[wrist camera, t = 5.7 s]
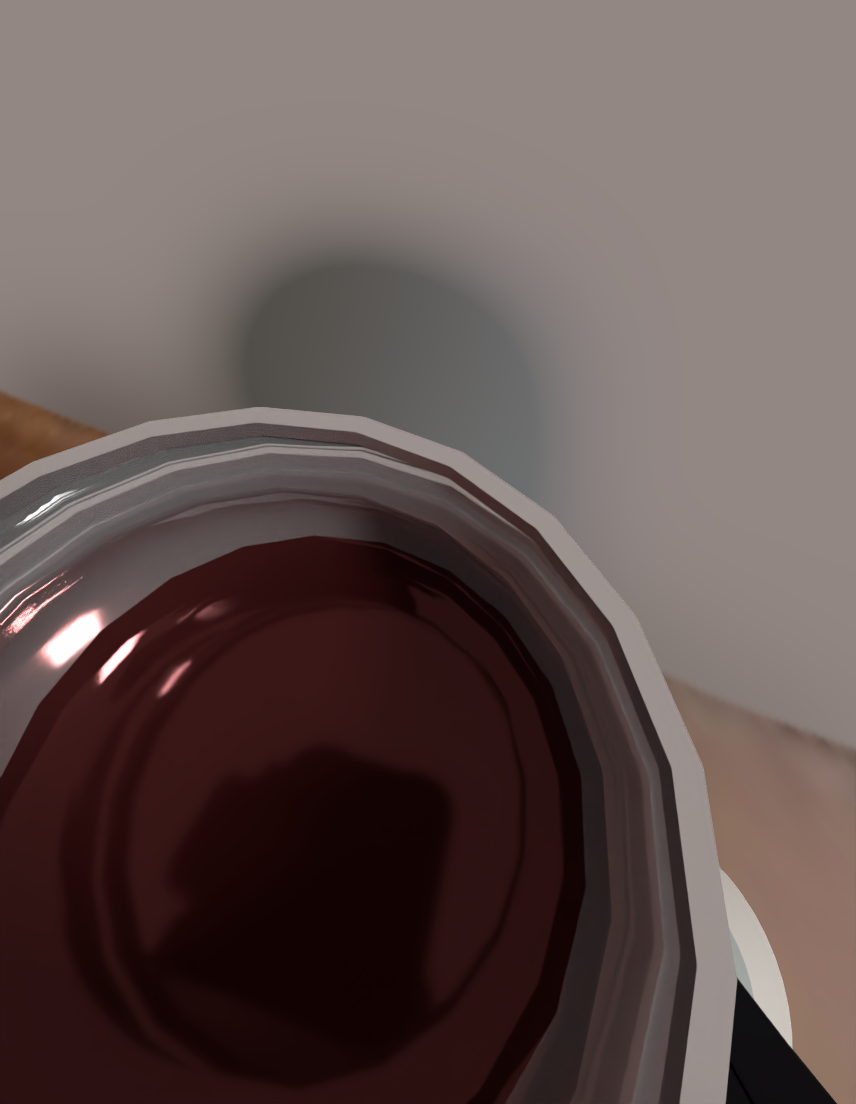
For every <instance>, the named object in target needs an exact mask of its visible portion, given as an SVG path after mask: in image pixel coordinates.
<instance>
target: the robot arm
mask: <svg viewBox="0 0 856 1104" xmlns="http://www.w3.org/2000/svg"><path fill="white" fill-rule="evenodd" d="M726 1104H837V1103H836V1102H835V1101H834V1100H833V1098H832V1097H831V1096H830V1095H829V1093H828V1092H827V1091H826V1090H825V1088H824V1087H823V1086H822V1085H821V1084H820V1082H819V1081H818V1080H817V1079H816V1077H815V1076H814V1075H813V1074H812V1072H811V1071H810V1070H809V1069H808V1068H807V1066H806V1065H805V1064H804V1063H803V1061H802V1060H801V1059H800V1058H799V1056H798V1055H797V1054H796V1053H795V1052H794V1050H793V1049H792V1048H791V1047H790V1045H789V1044H788V1043H787V1042H786V1040H785V1039H784V1038H783V1036H782V1035H781V1034H780V1032H779V1031H778V1030H777V1029H776V1027H775V1026H774V1025H773V1023H772V1022H771V1021H770V1020H769V1018H768V1017H767V1016H766V1014H765V1013H764V1012H763V1010H762V1009H761V1008H760V1007H759V1005H758V1004H757V1003H756V1001H755V1000H754V999H753V997H752V996H751V995H750V994H749V992H748V991H747V990H746V988H745V987H744V986H743V984H742V983H741V982H740V980H739V979H738V978H737V988H736V999H735V1009H734V1020H733V1031H732V1041H731V1052H730V1062H729V1073H728V1084H727V1094H726Z"/></svg>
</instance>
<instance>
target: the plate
mask: <svg viewBox="0 0 856 1104" xmlns="http://www.w3.org/2000/svg"><path fill="white" fill-rule="evenodd" d="M719 869H720V875H721V881H722V887H723V894H724V900H725V906H726V912H727V919H728V925H729V931H730V937H731V944H732V950H733V956H734V962H735V969H736V975H737V978H738V979H739V980H740V982H741V983H742V984H743V986H744V987H745V988H746V990H747V991H748V992H749V994H750V995H751V996H752V997H753V999H754V1000H755V1001H756V1003H757V1004H758V1005H759V1007H760V1008H761V1009H762V1010H763V1012H764V1013H765V1014H766V1016H767V1017H768V1018H769V1020H770V1021H771V1022H772V1023H773V1025H774V1026H775V1027H776V1029H777V1030H778V1031H779V1032H780V1034H781V1035H782V1036H783V1038H784V1039H785V1040H786V1042H787V1043H788V1044H789V1045H790V1047H791V1048H792V1030H791V1022H790V1014H789V1006H788V1002H787V997H786V993H785V988H784V984H783V980H782V977H781V974H780V971H779V968H778V965H777V961H776V958H775V956H774V953H773V951H772V949H771V946H770V944H769V942H768V939H767V937H766V934H765V932H764V931H763V929H762V927H761V925H760V923H759V921H758V919H757V917H756V916H755V914H754V912H753V910H752V909H751V907H750V906H749V904H748V903H747V901H746V900H745V898H744V897H743V895H742V894H741V892H740V891H739V890H738V888H737V887H736V886H735V885H734V883H733V882H732V881H731V879H730V878H729V877H728V876H727V875H726V874H725V872H724V871H723V870H722V869H721V868H720V867H719Z"/></svg>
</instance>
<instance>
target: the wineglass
mask: <svg viewBox="0 0 856 1104" xmlns="http://www.w3.org/2000/svg"><path fill="white" fill-rule="evenodd" d="M736 988H737V975H736V969H735V962H734V956H733V950H732V944H731V937H730V931H729V925H728V919H727V912H726V906H725V900H724V894H723V887H722V881H721V875H720V869H719V862H718V856H717V850H716V844H715V837H714V831H713V825H712V819H711V812H710V806H709V800H708V794H707V787H706V781H705V775H704V769H703V765H702V763H701V760H700V758H699V756H698V754H697V751H696V749H695V747H694V745H693V742H692V740H691V738H690V736H689V733H688V731H687V729H686V727H685V724H684V722H683V720H682V718H681V715H680V713H679V711H678V709H677V706H676V704H675V702H674V700H673V697H672V695H671V693H670V691H669V688H668V686H667V684H666V682H665V679H664V677H663V675H662V673H661V670H660V668H659V666H658V664H657V661H656V659H655V657H654V655H653V652H652V650H651V648H650V646H649V643H648V641H647V639H646V637H645V634H644V632H643V630H642V628H641V625H640V623H639V621H638V619H637V617H636V616H635V614H634V613H633V612H632V611H631V610H630V608H629V607H628V606H627V605H626V603H625V602H624V601H623V600H622V598H620V596H619V595H618V594H617V592H616V591H615V590H614V589H613V587H612V586H611V585H610V584H609V583H608V581H607V580H606V579H605V578H604V576H603V575H602V574H601V573H600V572H599V570H598V569H597V568H596V567H595V566H594V564H593V563H592V562H591V561H590V559H589V558H588V557H587V556H586V555H585V553H584V552H583V551H582V550H581V548H580V547H579V546H578V545H577V544H576V542H575V541H574V540H573V539H572V538H571V536H570V535H569V534H568V533H567V532H566V530H565V529H564V528H563V527H562V525H561V524H560V523H559V522H558V520H557V519H556V518H555V517H554V516H553V515H551V514H550V513H548V512H547V511H546V510H544V509H543V508H542V507H540V506H539V505H537V504H536V503H534V502H533V501H531V500H530V499H529V498H527V497H526V496H524V495H523V494H522V493H520V492H519V491H517V490H516V489H514V488H513V487H511V486H510V485H509V484H507V483H506V482H504V481H503V480H501V479H500V478H499V477H497V476H496V475H494V474H493V473H491V472H490V471H488V470H487V469H486V468H484V467H483V466H481V465H480V464H479V463H477V462H476V461H474V460H473V459H471V458H470V457H469V456H467V455H466V454H464V453H463V452H461V451H458V450H455V449H453V448H450V447H447V446H444V445H441V444H438V443H436V442H433V441H430V440H427V439H425V438H422V437H419V436H416V435H413V434H411V433H408V432H405V431H402V430H399V429H397V428H394V427H391V426H388V425H385V424H383V423H380V422H377V421H374V420H371V419H369V418H366V417H361V416H351V415H341V414H330V413H320V412H309V411H298V410H287V409H276V408H266V407H254V408H247V409H239V410H231V411H224V412H216V413H209V414H201V415H194V416H186V417H178V418H171V419H163V420H155V421H149V422H146V423H143V424H141V425H137V426H135V427H132V428H129V429H126V430H123V431H120V432H117V433H114V434H111V435H109V436H106V437H103V438H100V439H97V440H94V441H91V442H88V443H86V444H83V445H80V446H77V447H74V448H71V449H68V450H65V451H63V452H60V453H57V454H54V455H51V456H48V457H45V458H42V459H39V460H37V461H34V462H31V463H30V464H28V465H26V466H24V467H23V468H21V469H19V470H17V471H16V472H14V473H12V474H10V475H9V476H7V477H5V478H3V479H2V480H0V1104H726V1094H727V1084H728V1073H729V1062H730V1052H731V1041H732V1031H733V1020H734V1009H735V999H736Z"/></svg>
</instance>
